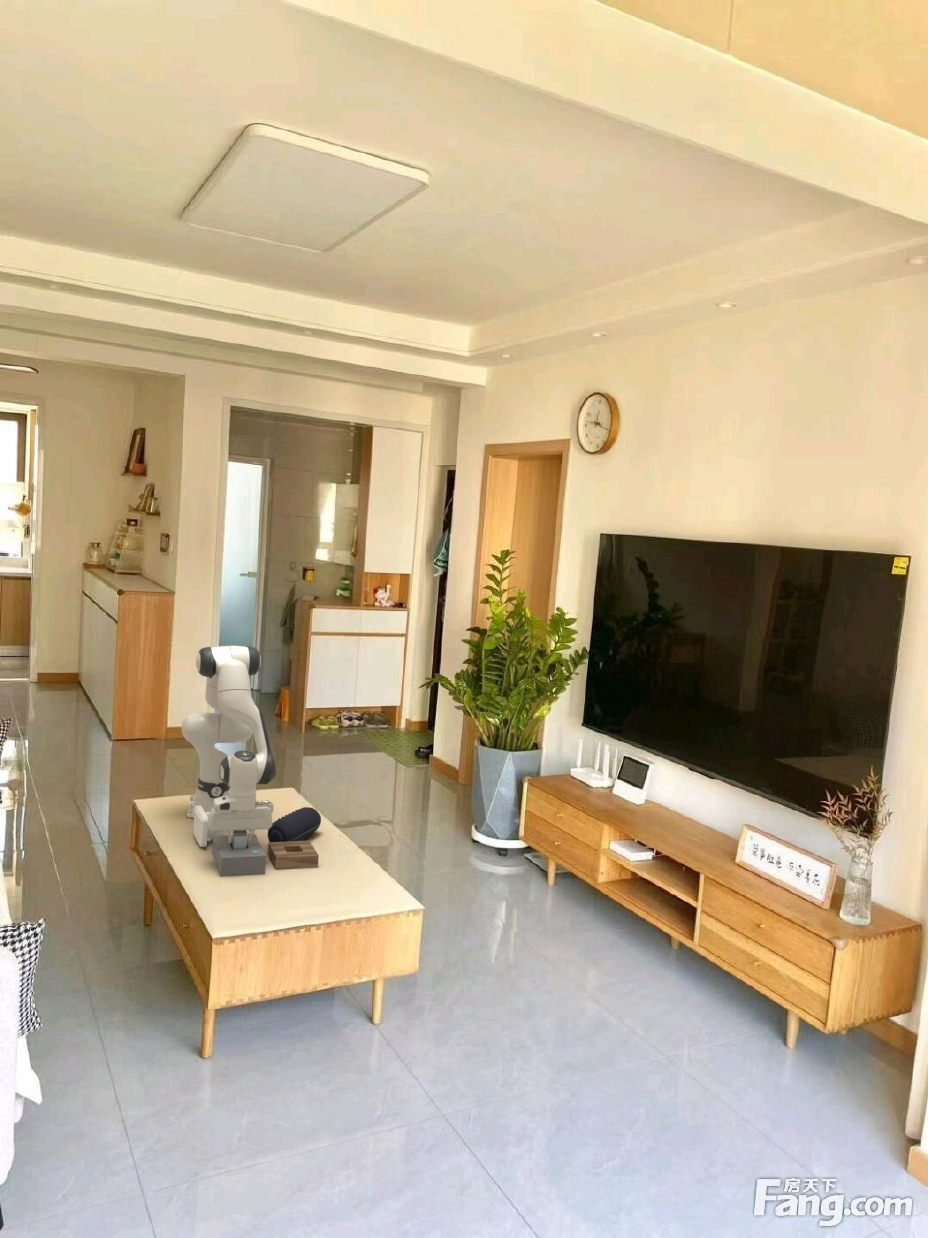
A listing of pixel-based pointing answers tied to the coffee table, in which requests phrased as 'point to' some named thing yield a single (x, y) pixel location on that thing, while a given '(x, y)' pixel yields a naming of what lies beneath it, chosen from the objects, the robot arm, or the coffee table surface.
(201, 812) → the cable organizer
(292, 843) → the square wooden frame
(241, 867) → the port box
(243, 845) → the plug
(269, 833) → the portable speaker
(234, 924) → the coffee table surface
